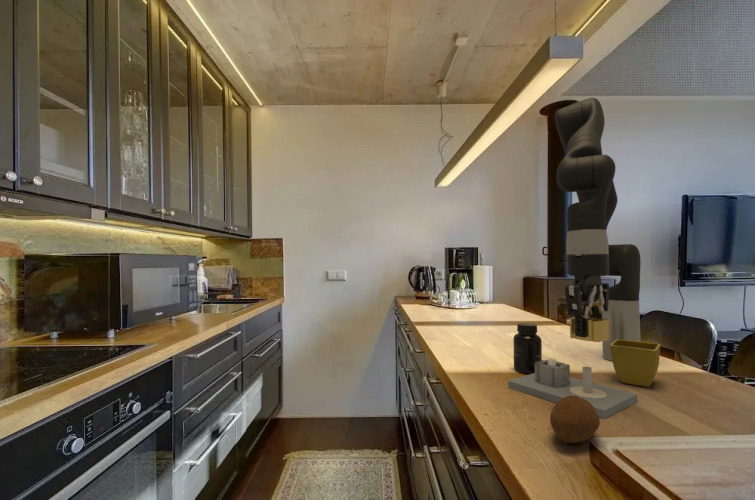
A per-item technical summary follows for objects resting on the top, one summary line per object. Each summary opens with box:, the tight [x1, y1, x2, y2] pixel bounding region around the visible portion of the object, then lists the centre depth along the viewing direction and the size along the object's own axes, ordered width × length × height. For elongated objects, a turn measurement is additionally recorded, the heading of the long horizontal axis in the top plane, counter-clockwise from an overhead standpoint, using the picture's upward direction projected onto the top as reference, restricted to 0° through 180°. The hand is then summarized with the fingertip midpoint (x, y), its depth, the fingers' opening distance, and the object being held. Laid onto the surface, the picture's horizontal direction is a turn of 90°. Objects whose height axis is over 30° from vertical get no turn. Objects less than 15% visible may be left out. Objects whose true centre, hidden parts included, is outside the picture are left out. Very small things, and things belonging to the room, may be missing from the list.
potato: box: [549, 396, 601, 444], centre depth 57 cm, size 7×12×7 cm, turn 145°
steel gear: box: [535, 359, 571, 388], centre depth 80 cm, size 6×6×4 cm
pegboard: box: [507, 358, 638, 420], centre depth 77 cm, size 14×20×6 cm
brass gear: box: [569, 316, 609, 343], centre depth 74 cm, size 6×6×4 cm
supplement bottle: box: [512, 322, 543, 375], centre depth 94 cm, size 7×7×12 cm
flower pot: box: [610, 339, 661, 388], centre depth 84 cm, size 9×9×9 cm
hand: (589, 334), depth 74 cm, fingers closed on brass gear, 5 cm apart
